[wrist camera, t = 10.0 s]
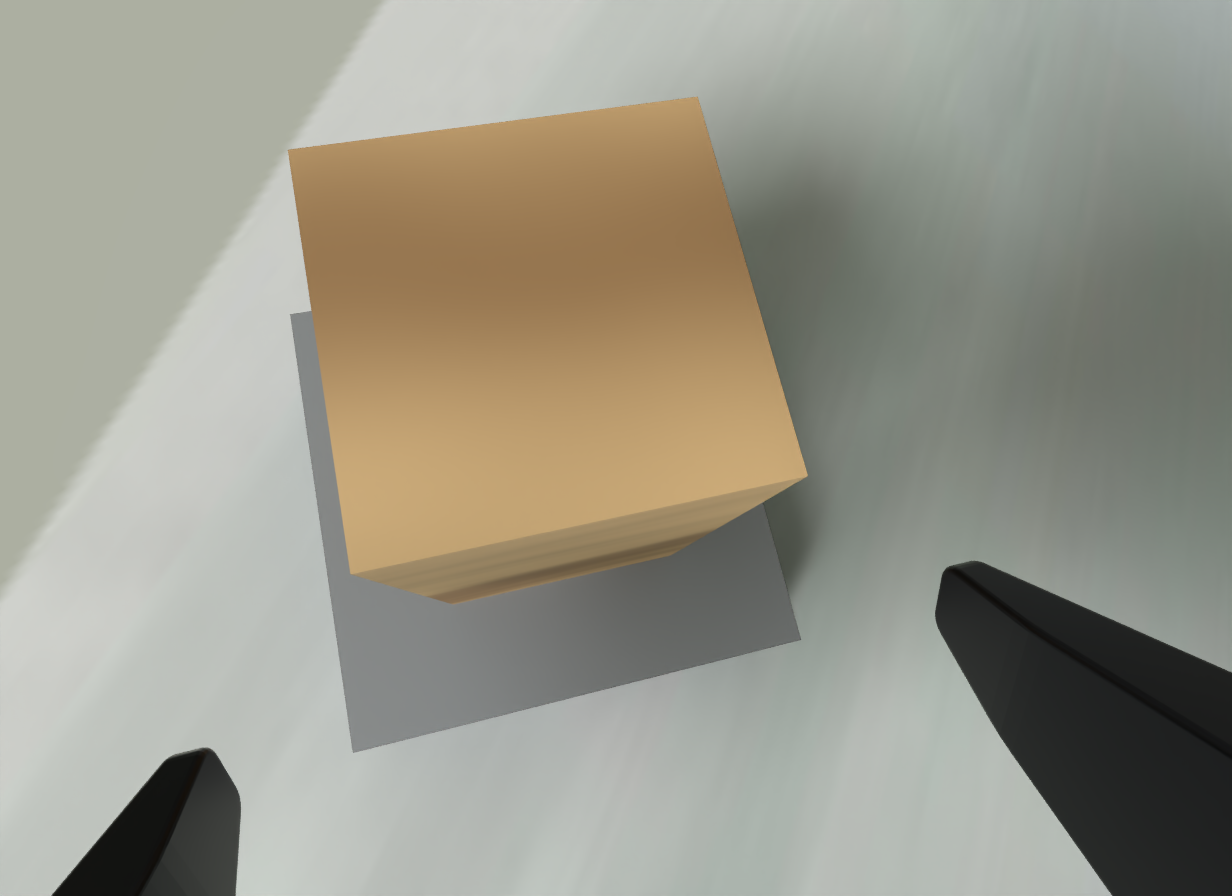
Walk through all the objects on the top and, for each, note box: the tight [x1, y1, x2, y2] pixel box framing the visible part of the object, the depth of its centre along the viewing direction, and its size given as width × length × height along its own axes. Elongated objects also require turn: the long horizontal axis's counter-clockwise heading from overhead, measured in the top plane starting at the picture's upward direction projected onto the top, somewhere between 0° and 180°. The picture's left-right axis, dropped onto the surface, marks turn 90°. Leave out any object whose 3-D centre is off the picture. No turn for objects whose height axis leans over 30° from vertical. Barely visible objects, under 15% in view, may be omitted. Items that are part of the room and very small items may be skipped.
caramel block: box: [288, 97, 808, 604], centre depth 13 cm, size 5×5×9 cm
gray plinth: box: [290, 311, 801, 753], centre depth 18 cm, size 10×10×3 cm
